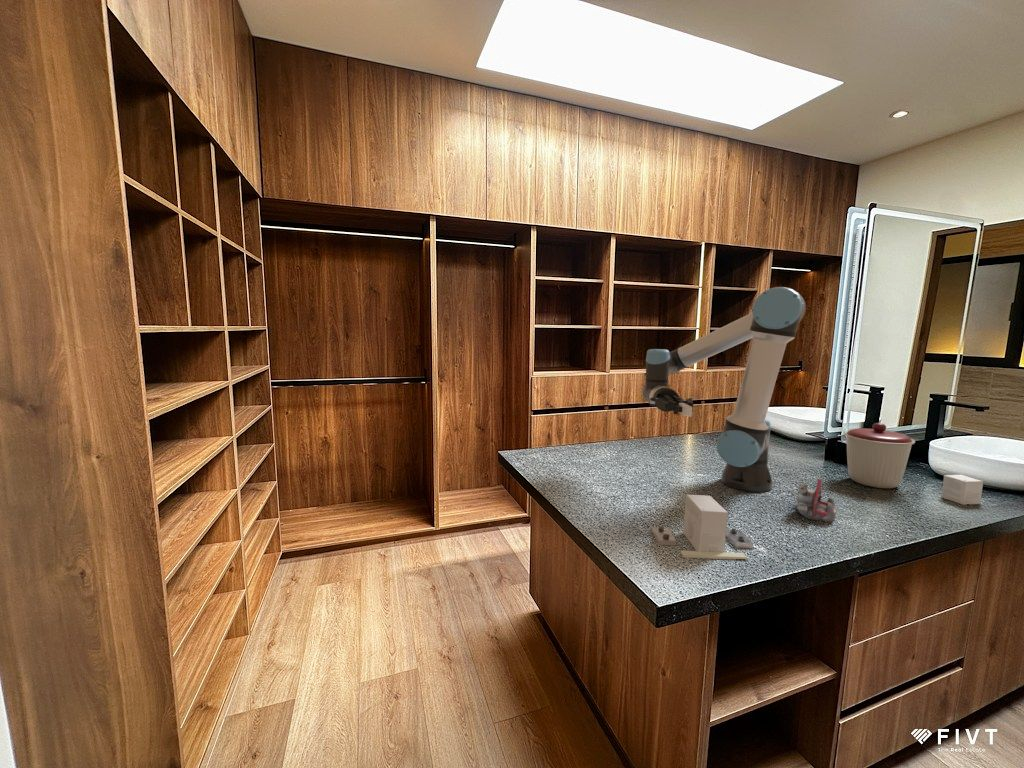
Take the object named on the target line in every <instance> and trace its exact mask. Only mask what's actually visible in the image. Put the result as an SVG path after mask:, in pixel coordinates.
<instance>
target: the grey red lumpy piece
mask: <svg viewBox="0 0 1024 768" xmlns="http://www.w3.org/2000/svg"><path fill="white" fill-rule="evenodd" d="M797 491H798V492H797V496H796V502H797V504H795V505H793V507H794V508H795V509H796V510H797V511H798V512H799V513H800V514H801V516H802V517H804V518H805V519H807V518H808V520H811V519H812V521H820V520H821V522H824V521H826V522H825V523H832V522H833V521H834V520H835V518H836V514H837V507H836V503H835V500H834V498H833V497H828V498H827V501H823V500H822V479H821V478H820V477H819V478H817V484H816V488H815V490H814V489H809V487H808V484H807V483H799V486H798V487H797Z"/></svg>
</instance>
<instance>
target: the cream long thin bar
mask: <svg viewBox="0 0 1024 768" xmlns="http://www.w3.org/2000/svg"><path fill="white" fill-rule="evenodd" d="M680 554H681V556H682V557H683V558H688V559H712V560H713V559H714V560H715V559H717V560H736V559H745V560H744V561H747V560H748V557H747V556H746V555H745V553H743V552H733V551H732V552H731V551H730V552H728V551H726V552H706V551H696V550H680Z"/></svg>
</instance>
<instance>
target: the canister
mask: <svg viewBox="0 0 1024 768" xmlns="http://www.w3.org/2000/svg"><path fill="white" fill-rule="evenodd" d="M843 434H844V436H846V461H847V463H846V464H847V471H848V472H847V473H848V475H849V478H850V479H851V480H853V482H855V483H858V484H861V485H863V486H866V487H867V486H868V487H870V488H871V487H872V488H877V489H894V488H897V487H899V485H900V484H901V483H902V480H903V478H904V475H905V472H906V468H907V463H908V460H909V457H910V453H911V449H912V446H913V445H914V444H915V443H916V441H915V439H914V438H911V437H910V436H909V435H906V434H904V433H900V432H896V431H891V430H888V429H887V426H886V424H885V423H881V422H874V423H873V424H872V428H865V427H864V428H860V427H859V428H853V429H849V430H848V431H844V433H843Z"/></svg>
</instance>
